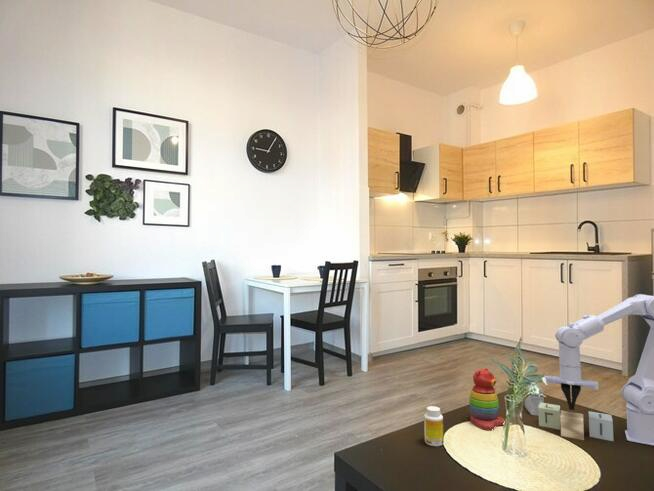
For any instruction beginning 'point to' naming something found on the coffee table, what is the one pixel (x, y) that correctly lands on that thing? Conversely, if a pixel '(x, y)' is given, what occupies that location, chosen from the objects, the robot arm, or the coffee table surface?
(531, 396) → the gray thick disc
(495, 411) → the stacking bear
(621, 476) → the coffee table surface
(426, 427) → the supplement bottle
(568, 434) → the plain birch block
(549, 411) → the green letter cube
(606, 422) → the pale grey cube
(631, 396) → the robot arm
